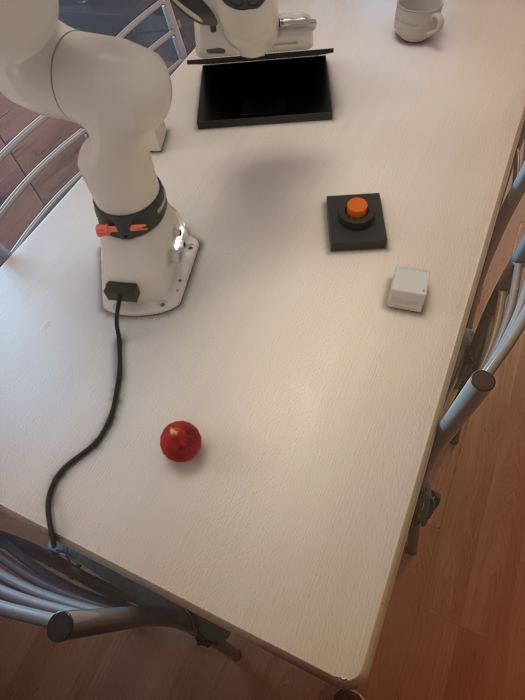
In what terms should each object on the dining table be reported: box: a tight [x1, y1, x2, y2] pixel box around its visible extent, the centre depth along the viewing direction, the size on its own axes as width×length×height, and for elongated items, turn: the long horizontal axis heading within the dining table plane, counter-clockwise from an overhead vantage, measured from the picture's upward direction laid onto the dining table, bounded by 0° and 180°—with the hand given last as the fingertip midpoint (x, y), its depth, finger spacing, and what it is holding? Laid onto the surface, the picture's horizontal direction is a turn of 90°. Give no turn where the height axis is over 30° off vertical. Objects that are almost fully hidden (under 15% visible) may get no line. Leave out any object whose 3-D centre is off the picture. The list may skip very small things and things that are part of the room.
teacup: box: [393, 0, 445, 43], centre depth 120 cm, size 14×11×8 cm
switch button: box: [347, 198, 368, 219], centre depth 90 cm, size 4×4×2 cm
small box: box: [386, 263, 431, 313], centre depth 83 cm, size 6×6×5 cm
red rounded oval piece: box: [159, 420, 202, 463], centre depth 71 cm, size 6×6×8 cm
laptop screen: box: [186, 47, 335, 66], centre depth 111 cm, size 22×30×1 cm
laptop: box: [196, 54, 333, 130], centre depth 116 cm, size 22×30×2 cm
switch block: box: [325, 192, 388, 252], centre depth 92 cm, size 12×10×4 cm
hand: (256, 52), depth 91 cm, fingers closed
